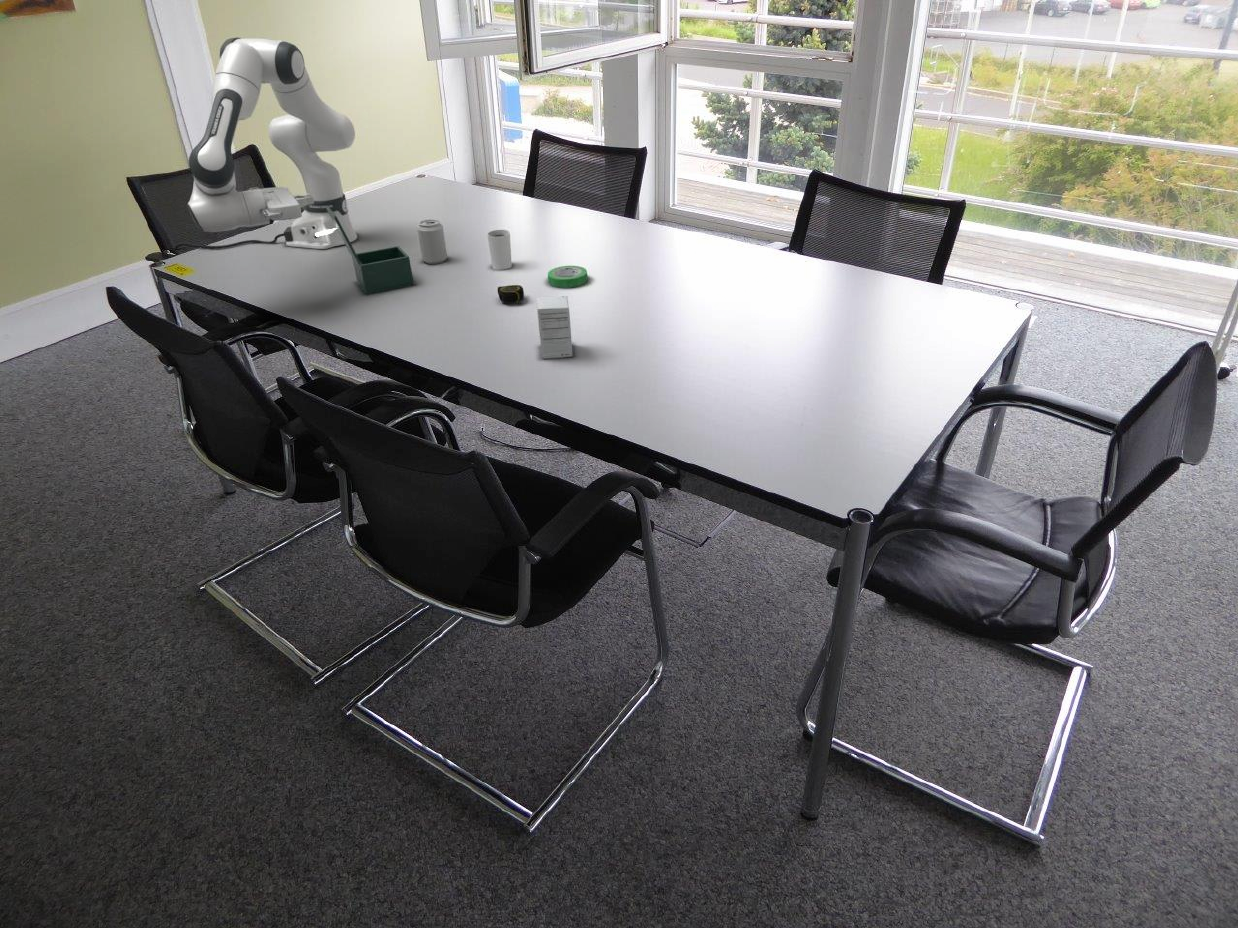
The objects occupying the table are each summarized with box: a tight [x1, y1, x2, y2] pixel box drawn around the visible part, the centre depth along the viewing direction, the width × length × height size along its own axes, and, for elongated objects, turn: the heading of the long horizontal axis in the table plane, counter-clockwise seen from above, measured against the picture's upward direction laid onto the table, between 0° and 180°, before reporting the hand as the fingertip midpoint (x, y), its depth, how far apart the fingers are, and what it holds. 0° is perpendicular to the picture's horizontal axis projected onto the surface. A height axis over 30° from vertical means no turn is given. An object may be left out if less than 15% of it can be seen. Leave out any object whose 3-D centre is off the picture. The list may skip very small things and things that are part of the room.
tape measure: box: [497, 284, 525, 304], centre depth 234 cm, size 7×7×4 cm
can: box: [416, 218, 448, 265], centre depth 261 cm, size 8×8×12 cm
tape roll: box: [547, 265, 589, 289], centre depth 245 cm, size 11×11×3 cm
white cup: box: [486, 229, 513, 271], centre depth 255 cm, size 7×7×10 cm
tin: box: [351, 245, 415, 295], centre depth 247 cm, size 14×11×8 cm
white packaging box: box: [536, 295, 573, 360], centre depth 203 cm, size 7×7×13 cm
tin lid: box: [326, 206, 361, 265], centre depth 238 cm, size 14×11×1 cm
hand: (312, 199), depth 229 cm, fingers closed
